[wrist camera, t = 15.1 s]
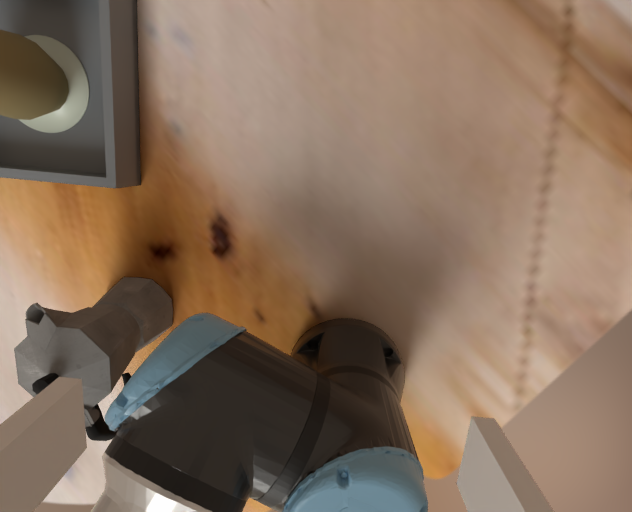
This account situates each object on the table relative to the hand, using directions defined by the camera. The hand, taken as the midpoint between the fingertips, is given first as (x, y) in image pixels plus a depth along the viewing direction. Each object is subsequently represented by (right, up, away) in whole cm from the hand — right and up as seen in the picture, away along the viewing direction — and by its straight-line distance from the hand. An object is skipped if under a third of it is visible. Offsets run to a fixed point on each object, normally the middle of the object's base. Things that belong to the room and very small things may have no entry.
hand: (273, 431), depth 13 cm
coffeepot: (-21, -2, +37) cm, 43 cm away
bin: (-29, +25, +30) cm, 49 cm away
